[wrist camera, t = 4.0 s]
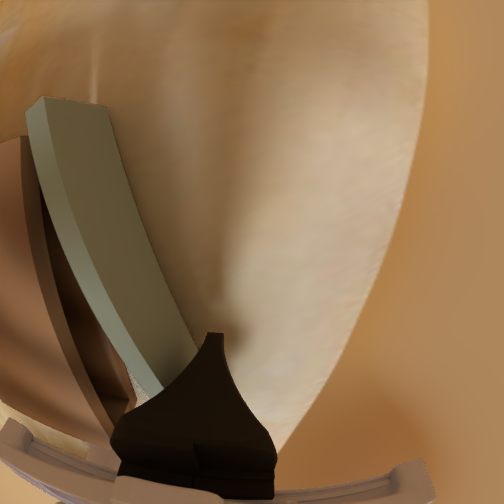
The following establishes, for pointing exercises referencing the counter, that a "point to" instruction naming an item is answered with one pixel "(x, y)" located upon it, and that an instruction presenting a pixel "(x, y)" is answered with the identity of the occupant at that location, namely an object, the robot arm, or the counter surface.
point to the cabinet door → (107, 238)
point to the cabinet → (50, 319)
